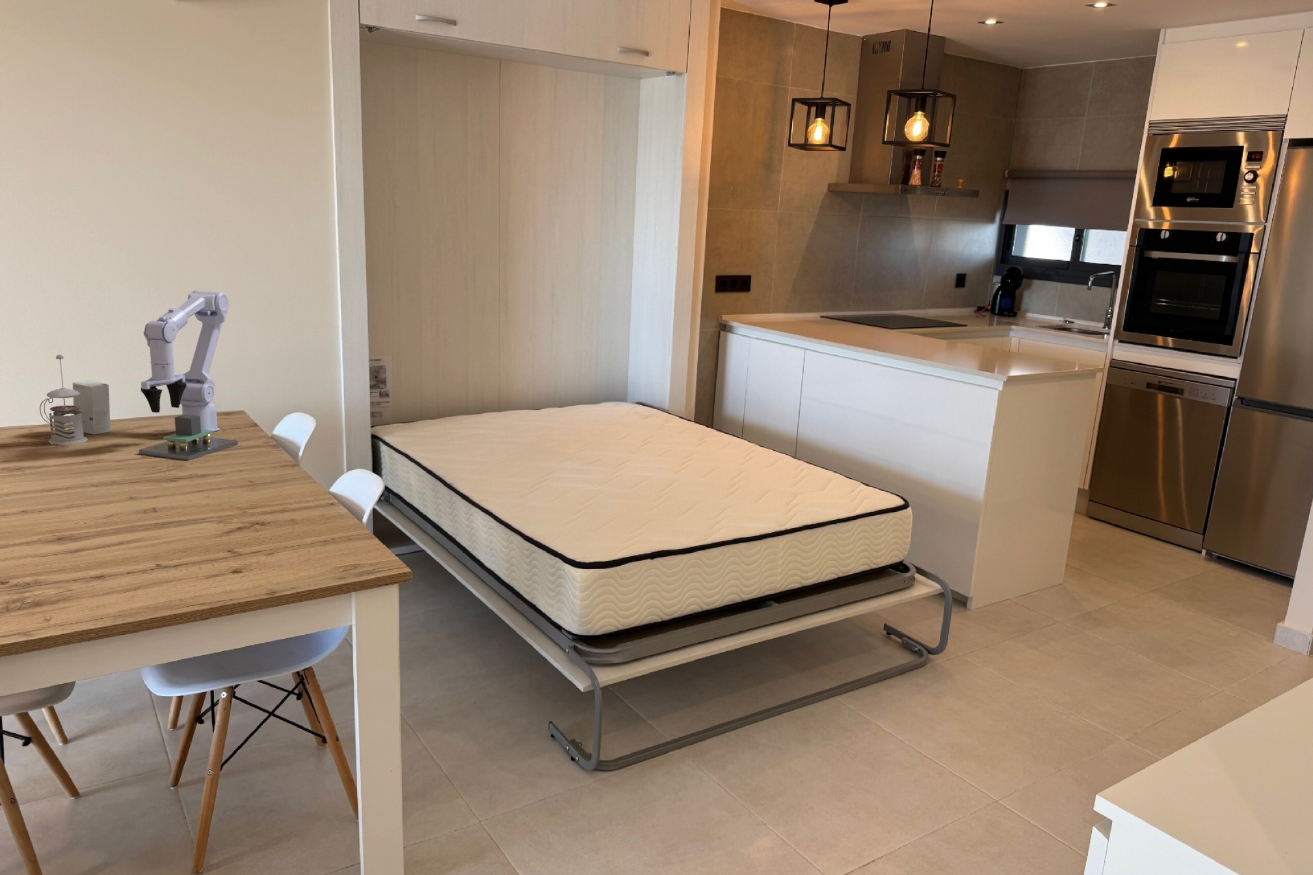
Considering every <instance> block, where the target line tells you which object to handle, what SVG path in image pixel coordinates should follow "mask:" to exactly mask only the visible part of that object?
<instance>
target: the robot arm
mask: <svg viewBox="0 0 1313 875" xmlns="http://www.w3.org/2000/svg"><path fill="white" fill-rule="evenodd" d="M229 307H230V303H229V299H228V296H227V294H226V292H222V291H219V292H217V291H215V292H214V291H202V290H192V291H191V292H190V293H188V295H187V299H186V301H185V302H183V304H182V305H180V307H178V308H169V309H168V310H167V312H165V313H164V314H162V316H160V317H158V319H157V320H150V321H149V322H147V323H146V324H145V326H144V331H143V336H144V337H145V340H146V344H147V346H148V347H149V353H150V354H149V355H150V356H149V357H150V369H151V376H150V377H149V378H148V379H147V380H145V381H144V380H143V381H141V382H140V384H141V385H140V386H141V387H140V392H141V393H142V394H143V396H144V397H145V399H146V400H147V403H148V405H149V408H150V411H151V412H152V413H156V414H158V413H160V411H161V395H162V392H163V389H161V388H160V389H159V388H158V387H162V386H166V388H167V391H168V395H169V400H170V406H171V408H176V409H179V408H180V406H181V412H182V413H181V415H195V416H200V423H201V429H204V430H213V433H214V432H216V431H217V432H218V431H219V430H220V429H221V428H219V427H218V416H217V409H216V406H215V404H213V402H212V401H213V400H214V396H215V385H216V383H215V381H214V380H213V378H212V377H211V376H210V370H211V366H212V364H213V359H214V357H215V356H214V355H215V352H216V348H217V345H218V341H219V337H220V334H221V330H222V326H223V323H225V321H226V319H227V315H228V311H229ZM193 315H194V316H195V318H196V319H197V321H199V322H200V323H201V324H202V325H201V329H200V332H199V336H198V340H197V343H196V347H195V350H194V354H193V357H192V362H191V364H190V366H189V368H190V369H189V370H187V371H186V372H185V373H183V374H175V363H174V348H173V342H174V341H175V340H176V337H177V335H178V333H179V331H180V330H181V329H182V328H184V327H185V326H186V325H188V322H189V319H190V317H191V316H193Z"/></svg>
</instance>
